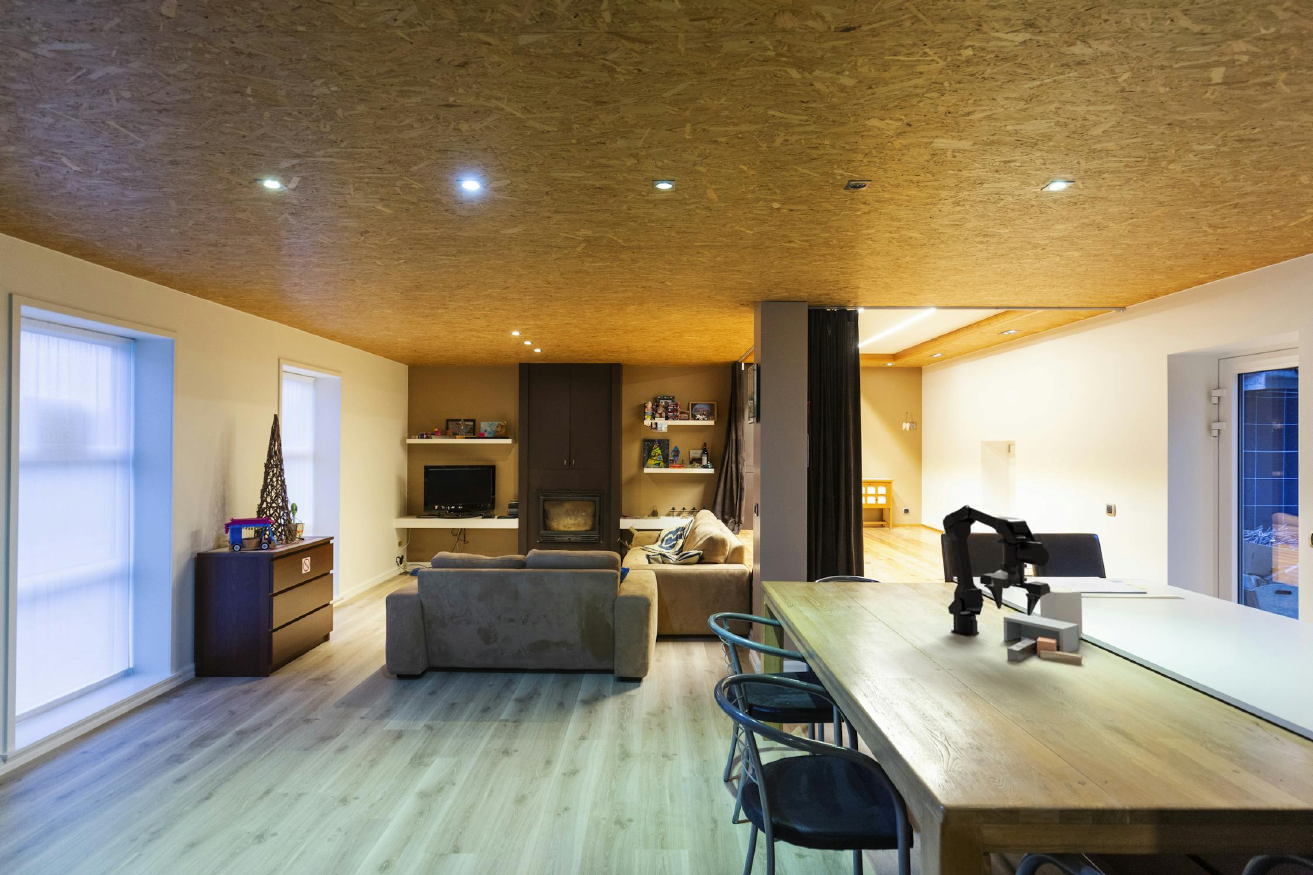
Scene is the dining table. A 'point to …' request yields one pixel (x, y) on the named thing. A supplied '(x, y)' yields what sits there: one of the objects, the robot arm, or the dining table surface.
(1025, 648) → the grey rectangular bar
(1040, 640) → the block
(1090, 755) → the dining table surface
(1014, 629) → the cubby
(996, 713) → the dining table surface
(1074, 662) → the rod
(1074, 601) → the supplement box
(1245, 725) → the dining table surface
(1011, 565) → the robot arm
